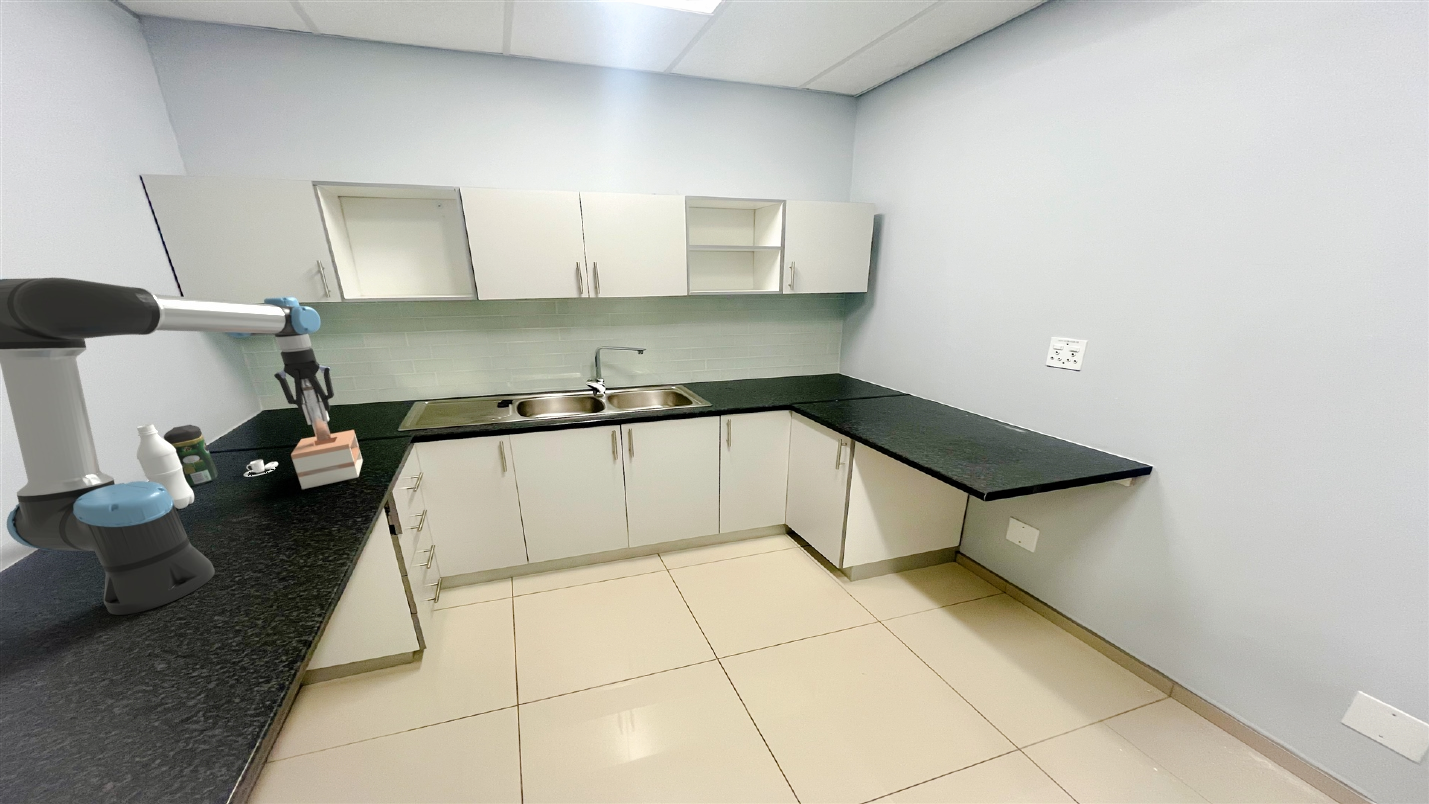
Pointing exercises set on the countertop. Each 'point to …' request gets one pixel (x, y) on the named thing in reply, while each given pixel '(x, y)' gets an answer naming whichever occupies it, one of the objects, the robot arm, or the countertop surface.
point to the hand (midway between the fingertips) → (318, 421)
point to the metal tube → (314, 409)
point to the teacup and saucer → (260, 467)
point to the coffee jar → (192, 454)
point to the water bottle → (163, 465)
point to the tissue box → (327, 459)
